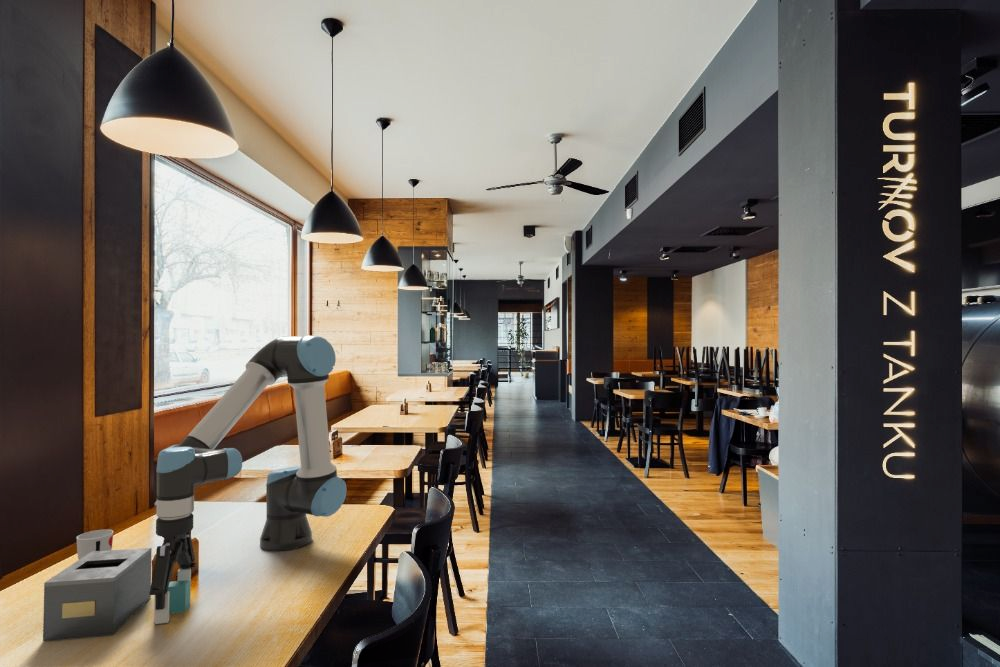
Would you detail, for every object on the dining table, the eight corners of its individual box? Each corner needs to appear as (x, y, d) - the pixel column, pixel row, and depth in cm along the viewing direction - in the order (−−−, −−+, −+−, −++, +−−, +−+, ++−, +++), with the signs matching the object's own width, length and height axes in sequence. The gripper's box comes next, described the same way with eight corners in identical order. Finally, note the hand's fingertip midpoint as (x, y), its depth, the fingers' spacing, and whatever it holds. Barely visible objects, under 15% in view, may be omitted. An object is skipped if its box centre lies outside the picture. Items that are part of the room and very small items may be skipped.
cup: (92, 578, 144) (93, 540, 144) (67, 576, 146) (68, 538, 146) (120, 566, 152) (120, 530, 152) (95, 564, 154) (96, 528, 154)
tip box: (150, 597, 133) (151, 547, 133) (112, 635, 115) (113, 577, 115) (90, 602, 130) (91, 551, 131) (42, 642, 112) (43, 583, 113)
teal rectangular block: (190, 606, 128) (190, 580, 129) (185, 611, 126) (185, 585, 126) (162, 608, 127) (162, 582, 128) (156, 614, 124) (157, 587, 125)
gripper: (177, 502, 138) (176, 588, 138) (132, 533, 114) (130, 637, 114) (209, 500, 140) (208, 585, 139) (171, 531, 116) (169, 634, 115)
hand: (173, 609), depth 126 cm, fingers open, 12 cm apart
